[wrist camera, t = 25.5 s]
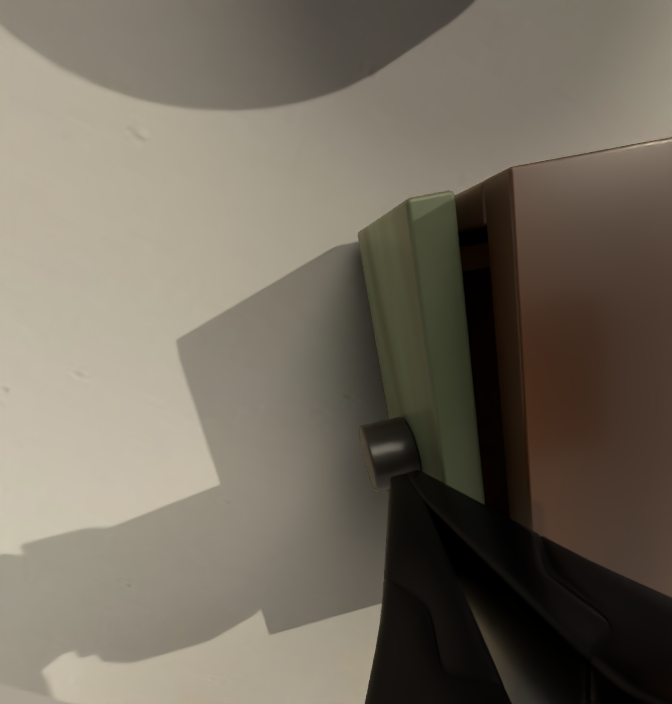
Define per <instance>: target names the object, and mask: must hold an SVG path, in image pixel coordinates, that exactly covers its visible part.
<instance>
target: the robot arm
mask: <svg viewBox="0 0 672 704" xmlns="http://www.w3.org/2000/svg"><path fill="white" fill-rule="evenodd" d="M365 704H672V597H669V596H667V595H665V594H663V593H661V592H658V591H656V590H654V589H652V588H649V587H647V586H645V585H643V584H640V583H638V582H636V581H634V580H631V579H629V578H627V577H625V576H623V575H620V574H618V573H616V572H614V571H612V570H610V569H608V568H605V567H603V566H601V565H599V564H597V563H595V562H593V561H590V560H588V559H586V558H584V557H582V556H581V555H579V554H577V553H575V552H573V551H571V550H569V549H567V548H565V547H563V546H561V545H559V544H557V543H555V542H553V541H552V540H550V539H548V538H546V537H544V536H541V537H540V535H539V534H538V533H536V532H534V531H533V530H531V529H529V528H527V527H525V526H523V525H521V524H520V523H518V522H516V521H514V520H512V519H510V518H508V517H506V516H505V515H503V514H501V513H499V512H497V511H495V510H493V509H492V508H490V507H488V506H486V505H484V504H482V503H480V502H478V501H477V500H475V499H473V498H471V497H469V496H467V495H465V494H464V493H462V492H460V491H458V490H456V489H454V488H452V487H450V486H449V485H447V484H445V483H443V482H441V481H439V480H437V479H436V478H434V477H432V476H430V475H428V474H426V473H424V472H422V471H421V470H414V471H411V472H407V473H405V474H399V475H395V476H392V477H390V486H389V502H388V519H387V536H386V553H385V570H384V582H383V598H382V608H381V618H380V626H379V632H378V638H377V644H376V650H375V655H374V660H373V665H372V670H371V675H370V680H369V685H368V690H367V695H366V700H365Z"/></svg>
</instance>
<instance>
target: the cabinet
mask: <svg viewBox="0 0 672 704" xmlns="http://www.w3.org/2000/svg"><path fill="white" fill-rule="evenodd" d="M455 206H456V216H457V226H458V236H459V246H461V245H466V244H471V243H476V242H481V241H486V240H488V246H489V258H490V271H491V284H492V297H493V310H494V323H495V335H496V348H497V361H498V374H499V387H500V399H501V412H502V425H503V438H504V451H505V464H506V476H507V489H508V502H509V515H510V519H512V520H514V521H516V522H518V523H520V524H521V525H523V526H525V527H527V528H529V529H531V530H533V531H534V532H536V533H538V534H539V535H540V537H541V536H544V537H546V538H548V539H550V540H552V541H553V542H555V543H557V544H559V545H561V546H563V547H565V548H567V549H569V550H571V551H573V552H575V553H577V554H579V555H581V556H582V557H584V558H586V559H588V560H590V561H593V562H595V563H597V564H599V565H601V566H603V567H605V568H608V569H610V570H612V571H614V572H616V573H618V574H620V575H623V576H625V577H627V578H629V579H631V580H634V581H636V582H638V583H640V584H643V585H645V586H647V587H649V588H652V589H654V590H656V591H658V592H661V593H663V594H665V595H667V596H669V597H672V137H670V138H665V139H659V140H654V141H649V142H643V143H638V144H632V145H627V146H622V147H616V148H611V149H606V150H600V151H595V152H589V153H584V154H579V155H573V156H568V157H563V158H557V159H552V160H546V161H541V162H536V163H530V164H525V165H520V166H514V167H510V168H508V169H506V170H504V171H502V172H500V173H498V174H496V175H494V176H492V177H490V178H488V179H486V180H485V181H483V182H481V183H479V184H477V185H475V186H473V187H471V188H469V189H467V190H465V191H463V192H461V193H459V194H457V195H455Z"/></svg>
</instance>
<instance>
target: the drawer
mask: <svg viewBox="0 0 672 704" xmlns="http://www.w3.org/2000/svg"><path fill="white" fill-rule="evenodd" d="M358 240H359V246H360V252H361V258H362V263H363V269H364V275H365V281H366V287H367V293H368V299H369V305H370V310H371V316H372V322H373V328H374V334H375V340H376V346H377V351H378V357H379V363H380V369H381V375H382V381H383V387H384V392H385V398H386V404H387V410H388V416H389V419H387V420H383V421H379V422H375V423H371V424H367V425H363V426H361V427H360V428H359V435H360V441H361V446H362V451H363V455H364V459H365V463H366V467H367V470H368V474H369V477H370V480H371V483H372V485H373V488H374V489H375V491H376V492H381V491H385V490H389V486H390V477H392V476H395V475H399V474H405V473H407V472H411V471H414V470H421V471H422V472H424V473H426V474H428V475H430V476H432V477H434V478H436V479H437V480H439V481H441V482H443V483H445V484H447V485H449V486H450V487H452V488H454V489H456V490H458V491H460V492H462V493H464V494H465V495H467V496H469V497H471V498H473V499H475V500H477V501H478V502H480V503H482V504H484V505H486V506H488V507H490V508H492V509H493V510H495V511H497V512H499V513H501V514H503V515H505V516H506V517H508V518H510V515H509V502H508V489H507V476H506V464H505V451H504V438H503V425H502V412H501V399H500V387H499V374H498V361H497V348H496V335H495V323H494V310H493V297H492V284H491V271H490V258H489V246H488V240H486V241H481V242H476V243H471V244H466V245H461V246H459V236H458V226H457V216H456V206H455V195H454V193H453V192H452V191H444V192H439V193H434V194H428V195H423V196H418V197H412V198H409V199H407V200H406V201H404V202H403V203H401V204H400V205H398V206H397V207H395V208H394V209H392V210H391V211H389V212H388V213H387V214H385V215H384V216H382V217H381V218H379V219H378V220H376V221H375V222H373V223H372V224H370V225H369V226H367V227H366V228H364V229H363V230H361V231H360V232H358Z"/></svg>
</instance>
